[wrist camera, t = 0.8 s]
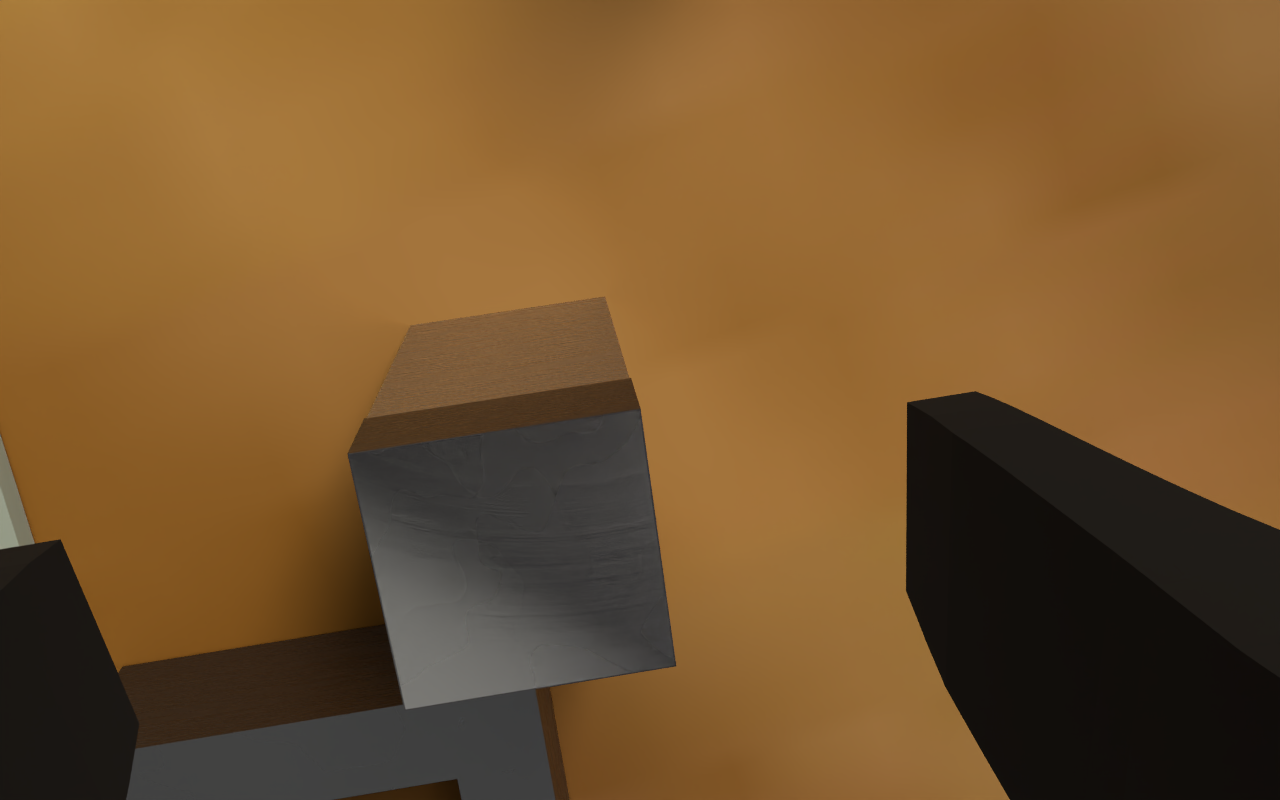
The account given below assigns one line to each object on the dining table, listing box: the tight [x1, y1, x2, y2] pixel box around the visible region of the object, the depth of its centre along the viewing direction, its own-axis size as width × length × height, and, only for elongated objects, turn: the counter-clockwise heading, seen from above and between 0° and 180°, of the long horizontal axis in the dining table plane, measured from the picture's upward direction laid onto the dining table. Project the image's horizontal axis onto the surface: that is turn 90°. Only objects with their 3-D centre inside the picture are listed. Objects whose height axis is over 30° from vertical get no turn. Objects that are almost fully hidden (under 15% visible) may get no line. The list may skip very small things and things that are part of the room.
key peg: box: [348, 297, 676, 711], centre depth 20 cm, size 4×4×8 cm
